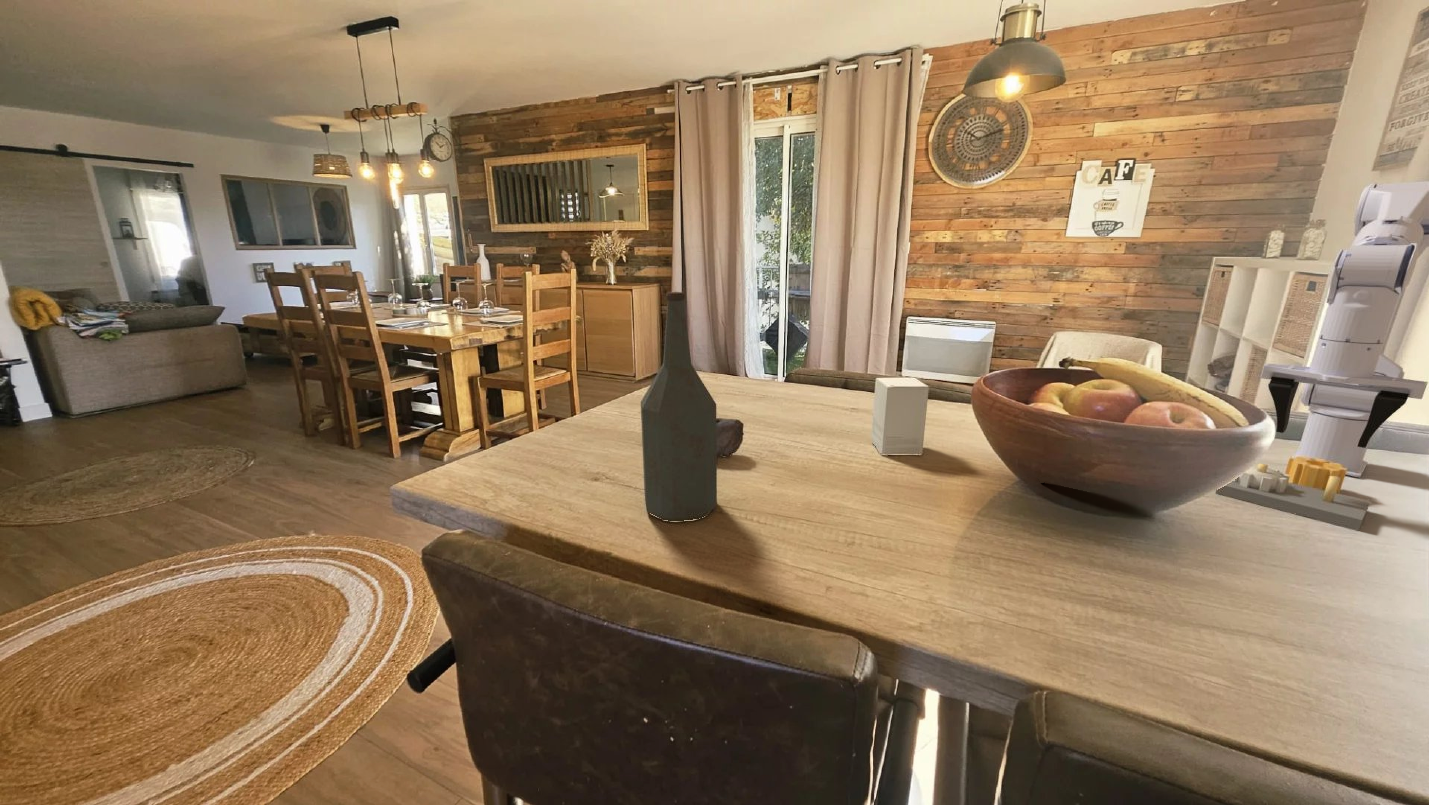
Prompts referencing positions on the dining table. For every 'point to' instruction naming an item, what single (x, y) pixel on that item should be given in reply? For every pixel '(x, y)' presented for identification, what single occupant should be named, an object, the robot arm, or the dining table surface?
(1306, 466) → the amber gear
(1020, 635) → the dining table surface
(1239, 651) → the dining table surface
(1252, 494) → the gear board
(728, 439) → the dark brown rounded piece
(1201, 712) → the dining table surface
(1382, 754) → the dining table surface
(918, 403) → the supplement box
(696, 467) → the bottle
